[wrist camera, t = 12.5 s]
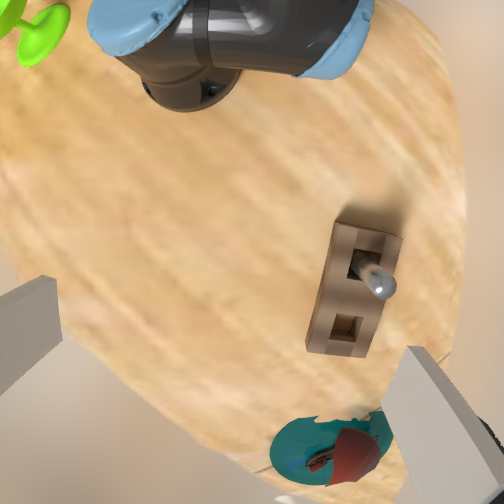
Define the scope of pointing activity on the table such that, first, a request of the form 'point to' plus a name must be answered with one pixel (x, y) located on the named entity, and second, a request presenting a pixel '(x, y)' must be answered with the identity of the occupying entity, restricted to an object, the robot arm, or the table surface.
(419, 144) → the table surface
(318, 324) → the socket block
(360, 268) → the peg
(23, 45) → the wineglass
